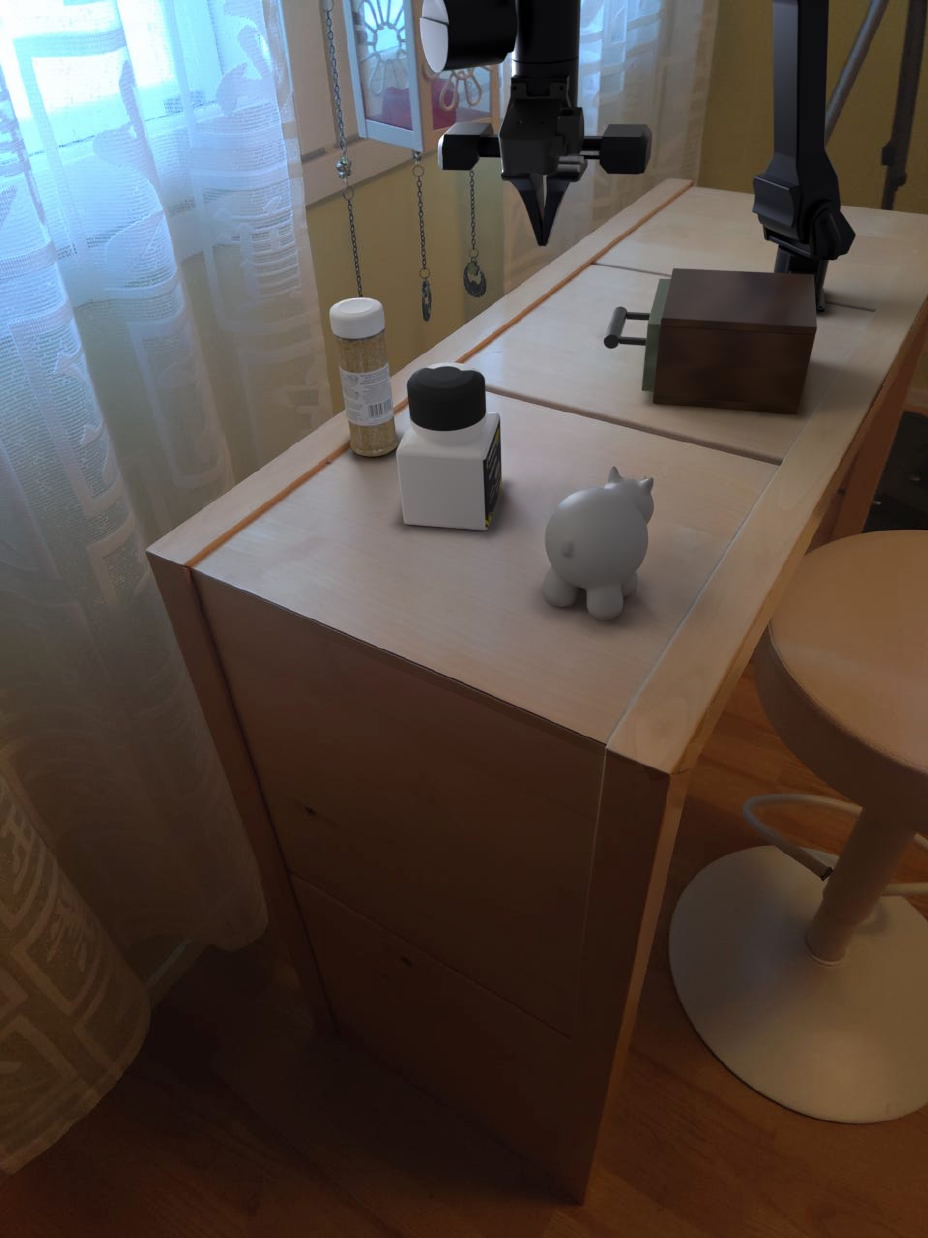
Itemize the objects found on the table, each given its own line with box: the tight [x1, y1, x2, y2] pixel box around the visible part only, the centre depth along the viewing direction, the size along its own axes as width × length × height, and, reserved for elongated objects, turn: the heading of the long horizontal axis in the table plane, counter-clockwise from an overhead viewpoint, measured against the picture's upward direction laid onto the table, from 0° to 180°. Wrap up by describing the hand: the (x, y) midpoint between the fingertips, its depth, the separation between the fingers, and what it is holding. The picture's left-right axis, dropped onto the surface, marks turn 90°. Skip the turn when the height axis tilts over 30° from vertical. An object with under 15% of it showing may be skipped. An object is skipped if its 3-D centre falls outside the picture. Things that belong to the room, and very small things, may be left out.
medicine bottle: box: [395, 361, 503, 532], centre depth 71 cm, size 7×7×12 cm
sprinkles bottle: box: [329, 297, 399, 458], centre depth 79 cm, size 5×5×14 cm
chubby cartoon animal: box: [541, 465, 655, 621], centre depth 64 cm, size 7×12×8 cm, turn 146°
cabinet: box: [652, 267, 818, 415], centre depth 87 cm, size 14×13×9 cm
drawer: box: [603, 278, 671, 392], centre depth 88 cm, size 17×11×7 cm
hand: (543, 244), depth 86 cm, fingers closed
